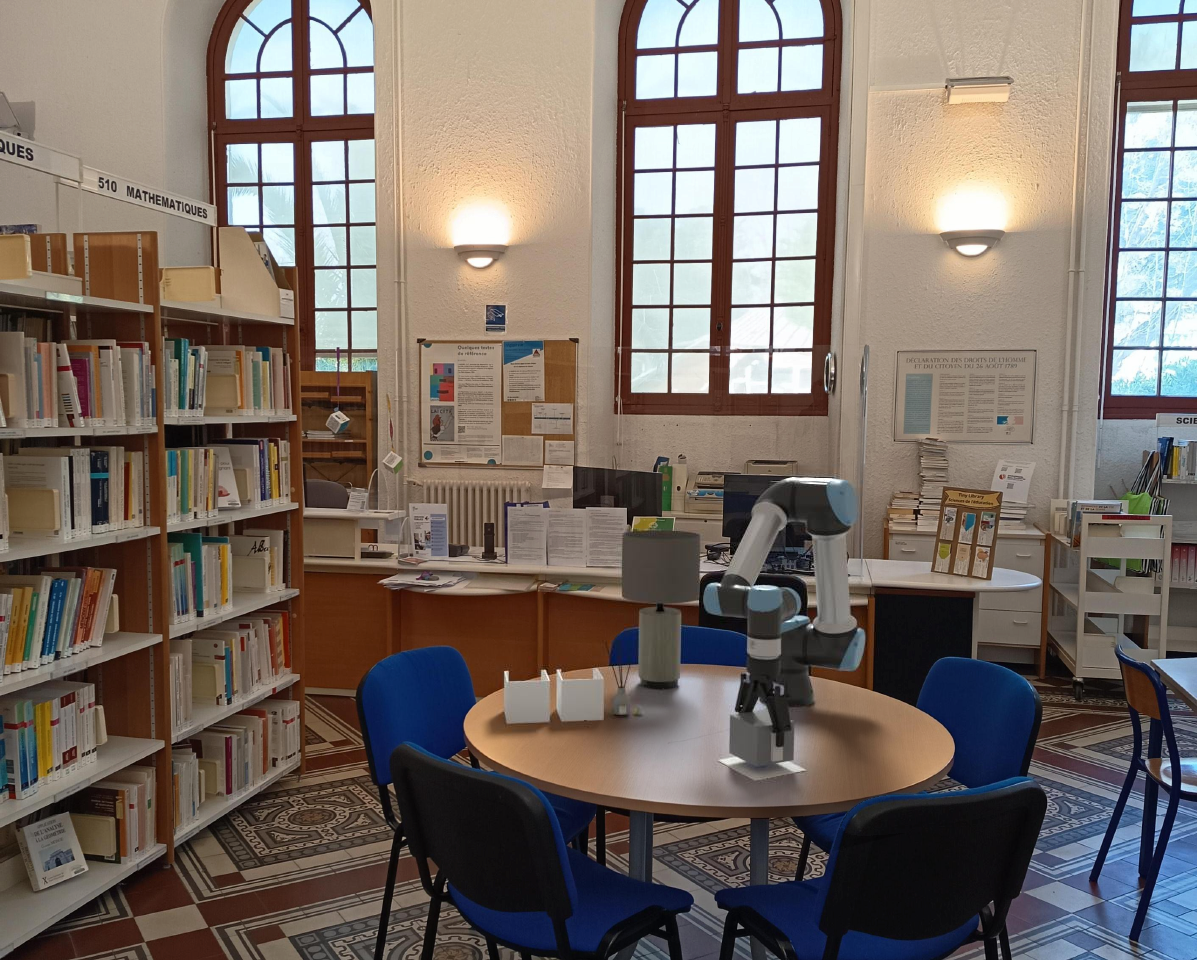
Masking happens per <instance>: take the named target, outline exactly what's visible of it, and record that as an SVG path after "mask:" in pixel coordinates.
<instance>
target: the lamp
mask: <svg viewBox="0 0 1197 960" xmlns="http://www.w3.org/2000/svg"><path fill="white" fill-rule="evenodd" d="M621 540H622V543H621V548H622V549H621V597H622V598H623V599H625V600H628V601H632V602H638V603H645V604H646V603H647V604H656V606H652V607H651V606H650V607H643V608H641V609H639V611H638V612H639V613H638V615H639V616H638V678H639V679H640V681H639V683H640V686H641V687H644V688H646V689H650V690H670V689H671V690H672V689H675V688H677V687H678V686H679V680H680V678H681V649H682V648H681V647H682V646H681V644H682V643H681V642H682V640H681V639H682V638H681V637H682V636H681V634H682V611H681V610H680V609H677V608H674V607H667V606H664V605H665V604H684V603H691V602H695V601H697V600H699V598H700V587H701V586H700V584H701V583H700V581H701V580H700V579H701V573H700V572H701V534H699V533H696V532H691V531H685V530H684V531H681V530H666V529H665V530H664V529H662V530H661V529H660V530H659V529H656V530H655V529H650V530H649V529H647V530H632V531H626V532H625V531H624V532H623V533H622V539H621Z"/></svg>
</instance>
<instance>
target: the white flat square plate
mask: <svg viewBox="0 0 1197 960" xmlns="http://www.w3.org/2000/svg"><path fill="white" fill-rule="evenodd" d="M717 762H720V763H721V764H722V765H724V766H727V767H728V768H730V769H732V770H734V771H736V772H738V773H740V774H741V775H743V776H745V777H746V778H749V779H751V780H752V781H755V782H756V781H757V780H758V781H762V780H767V778H768V779H771V778H772V777H773V778H777V776H778V777H782V775H783V776H786V775H787V774H788V775H791V774H792V775H794V774H797V772H798V773H802V771H803V772H807V769H805V768H803V767H801V766H799V765H797V764H795V763H793V762H792V761H786V762H781V763H776V764H770V765H767V766H765V767H756V766H754V765H752V764H750V763H748V762H746V761H744V760H742V759H740V758H738V757H736V756H733V757H732V756H731V757H727V758H721V759H717ZM758 781H757V782H758Z"/></svg>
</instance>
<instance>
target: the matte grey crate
mask: <svg viewBox="0 0 1197 960" xmlns="http://www.w3.org/2000/svg"><path fill="white" fill-rule="evenodd" d="M790 722H791V728H792V729H791V731H786V732H785V733H784V747H783V760H780V761H774V762H772V761H771V732H772V731H773V730H774V728H773V725H772V722H771V719H770V715H769V712H768V709H760V710H753V711H752V712H745V713H734V714H732V713H731V714H730V715H729V743H728V744H729V746H728V747H729V751H728V753H729V754H731V755H733V757H738V758H740V759H742V760H744V761H746V762H748V763H750V764H752V765H754V766H756V767H759V766H765V765H770V764H776V763H781V762H786V761H789V762H792V761H795V759H794V757H795V720H792V719H790ZM785 726H786V725H785ZM778 727H779V725H778Z"/></svg>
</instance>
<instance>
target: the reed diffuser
mask: <svg viewBox="0 0 1197 960" xmlns="http://www.w3.org/2000/svg"><path fill="white" fill-rule="evenodd" d="M604 644H605V647H606V650H607V653H608V657H609V660H610V663H611V667H612V671H613V673H614V677H615V680H616V684H617V694H616V695H614V696H613V697H612V700H611V702H612V705H611V706H612V713H613V714H614V715H617V716H626V715H629V714H630V713H631V698H630V697H629V695H627V694H626V684H627V680H628V676H629V673H630V668H631V665H632V660H633V656H634V652H635V648H636V644H637V640H635V642H634V644H633V645H634V646H633V650H632V653H631V658H630V661H629V665H628V667H627V668H628V669H627V673H626V677H625V680H624V684H623V670H622V669H623V665H622V664H623V663H622V639H619V647H618V640H617V639H616V640H615V646H616V653H617V662H618V673H619V680H620V681H619V682H618V678H617V675H616V671H615V668H614V665H613V664H614V663H613V662H612V658H611V654H610V651H609V648H608V644H607V642H605V643H604ZM619 654H620V657H619ZM619 683H620V685H619ZM643 713H644V712H643V709H642V707H641V706H637V707H636V709H635V710H633V714H634V715H636V716H637V715H638V716H642V715H643Z"/></svg>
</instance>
